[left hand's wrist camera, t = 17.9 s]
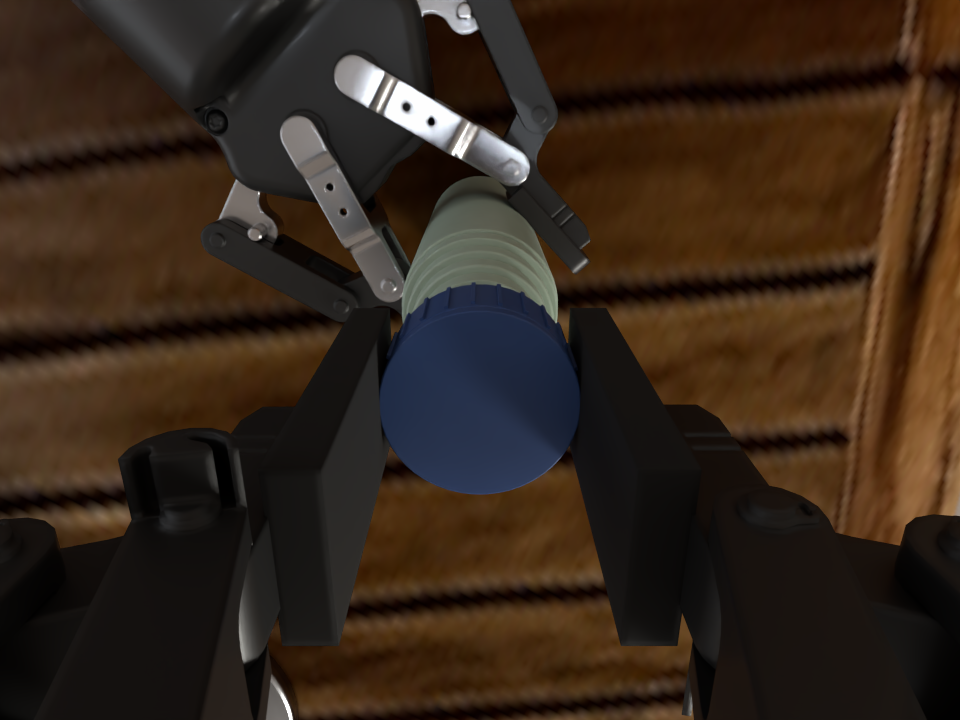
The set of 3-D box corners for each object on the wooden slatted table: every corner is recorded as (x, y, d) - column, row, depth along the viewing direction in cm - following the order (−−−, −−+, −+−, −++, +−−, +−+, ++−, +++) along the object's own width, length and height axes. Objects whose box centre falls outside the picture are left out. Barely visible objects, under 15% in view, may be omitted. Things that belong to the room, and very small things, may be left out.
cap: (503, 480, 15) (506, 529, 14) (354, 393, 15) (336, 433, 13) (608, 346, 14) (627, 381, 12) (452, 243, 13) (448, 266, 12)
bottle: (543, 200, 30) (629, 340, 13) (503, 286, 32) (531, 515, 14) (454, 159, 29) (418, 248, 12) (417, 249, 31) (339, 442, 14)
